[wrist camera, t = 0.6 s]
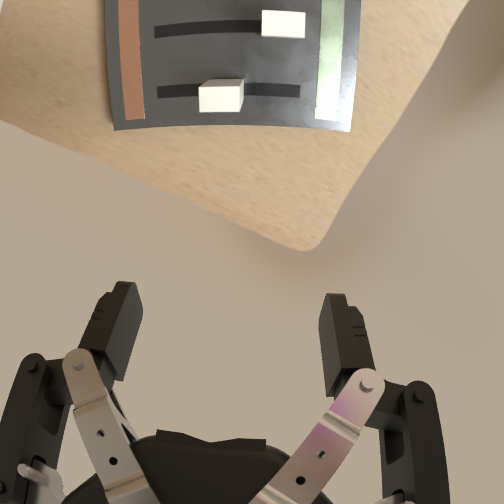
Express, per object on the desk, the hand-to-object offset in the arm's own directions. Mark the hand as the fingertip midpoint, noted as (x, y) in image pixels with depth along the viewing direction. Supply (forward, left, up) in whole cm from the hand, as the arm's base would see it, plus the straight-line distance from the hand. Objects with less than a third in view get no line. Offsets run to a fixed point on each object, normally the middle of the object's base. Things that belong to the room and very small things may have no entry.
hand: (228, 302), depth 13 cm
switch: (-5, -2, -20) cm, 20 cm away
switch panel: (-11, -2, -22) cm, 25 cm away
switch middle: (-11, +3, -20) cm, 23 cm away
